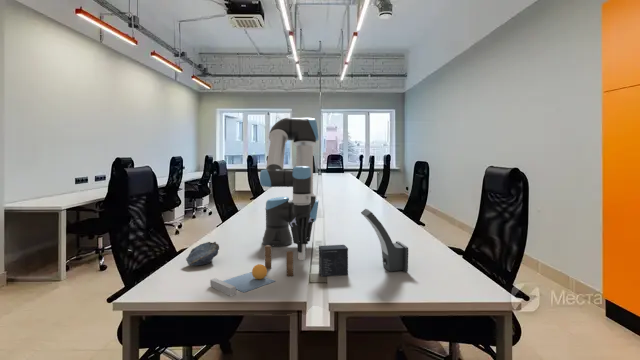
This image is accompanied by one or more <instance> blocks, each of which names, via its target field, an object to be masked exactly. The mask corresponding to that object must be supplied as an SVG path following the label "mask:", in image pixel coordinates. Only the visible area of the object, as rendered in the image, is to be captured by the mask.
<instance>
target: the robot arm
mask: <svg viewBox="0 0 640 360" xmlns="http://www.w3.org/2000/svg"><path fill="white" fill-rule="evenodd" d="M319 138H320V137H319V129H318V122H317V120H316V118H314V117H313V118H312V117H285V118H282V119H279V120H278V121H276V122H275V123H274V124H273V126H272V127H271V129H270V131H269V133H268V140H269V146H268V147H269V148H268V152H267V153H268V154H267V162H266V168H265V169H261V170H260V173H259V183H260V186H261V187H263V188H264V187H265V188H266V187H267V188H276V187H277V188H279V187H280V188H283V187H284V188H292V199H290V197H289V196H278V197H272V198H270V199H267V200H266V202H265V208H264V209H265V230H264V234H263V237H262V244H263V245H265V246H266V245H270V246H271V247H284V246H285V247H286V246H289V245H291V244H292V243H293V244H295V245H297V246H296V247H297V255H298V256H297V257H298V259H297V260H300V261H305V260H306V252H307V245H309V242H310V241H311V235H312V230H313V225H314V222H316V221H317V216H318V209H319V202H320V201H319V199H316V198H317V196H316V195H315V194H314V181H313V179H314V147H315V146H316V144H317V141H319ZM288 141H293V145H294V146H295V149H296V150H295V151H296V152H295V153H296V155H295V159H296V161H295V162H296V163H295V165H296V166H293V167H292V169H284V162H285V153H286V152H285V151H286V143H287V142H288Z"/></svg>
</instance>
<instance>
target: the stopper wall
mask: <svg viewBox="0 0 640 360" xmlns="http://www.w3.org/2000/svg"><path fill="white" fill-rule="evenodd" d="M209 281H210V282H209V283H210V287H211V288H213V289H214V290H218V291H219V292H222V293H223V294H225V295H227V296H229V297H230V296H234V295H236V294H237V289H236V287H235V286H233V285H230V284H228V283H226V282H223V281H224V280H221V279H219V278H216V277H214V278H212V279H211V278H210V280H209Z"/></svg>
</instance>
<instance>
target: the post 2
mask: <svg viewBox="0 0 640 360" xmlns="http://www.w3.org/2000/svg"><path fill="white" fill-rule="evenodd" d="M285 259H286V261H285V262H286V263H285V264H286V265H285V266H286V268H285V269H286V271H285V272H286V275H285V276H286V277H293V276H294V251H293V250H288V251H286V256H285Z"/></svg>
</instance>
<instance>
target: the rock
mask: <svg viewBox="0 0 640 360" xmlns="http://www.w3.org/2000/svg"><path fill="white" fill-rule="evenodd" d="M219 245H220V244H219V243H217V242H216V241H213V242H211V241H207V242H203V243H201V244H199V245H197V246H196V247H194V248H192V249H191V250H190V252H189V254H188V256H187V257H185V261H186V263H187V265H188V266H203V265H209V264H210V263H211V261H213V259H214V258H215V257H216V256H217V255H218V254H219V250H220V246H219Z"/></svg>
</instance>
